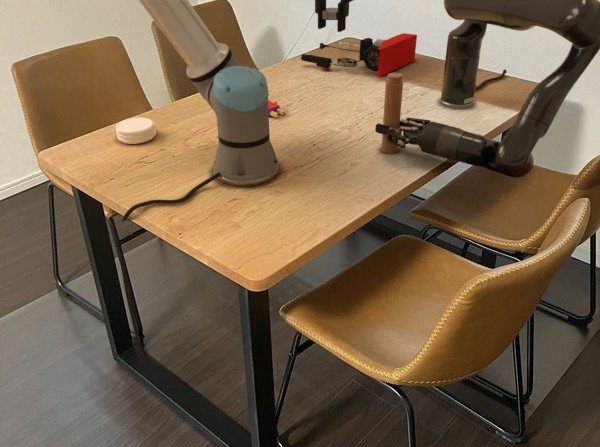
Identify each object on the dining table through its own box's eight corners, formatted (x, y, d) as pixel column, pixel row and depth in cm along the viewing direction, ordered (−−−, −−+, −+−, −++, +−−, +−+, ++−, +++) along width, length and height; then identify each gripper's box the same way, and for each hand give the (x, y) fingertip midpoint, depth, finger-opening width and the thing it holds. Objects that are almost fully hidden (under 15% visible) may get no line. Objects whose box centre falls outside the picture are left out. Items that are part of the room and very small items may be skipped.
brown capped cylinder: (378, 149, 155) (382, 75, 144) (388, 144, 157) (393, 70, 147) (390, 154, 152) (396, 79, 142) (401, 149, 154) (407, 75, 144)
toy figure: (289, 106, 174) (261, 93, 181) (270, 113, 170) (242, 99, 177) (289, 115, 175) (261, 101, 182) (270, 121, 171) (243, 107, 178)
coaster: (128, 148, 157) (126, 135, 155) (110, 136, 163) (108, 123, 162) (163, 136, 162) (161, 124, 161) (144, 125, 169) (142, 113, 167)
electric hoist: (300, 34, 205) (379, 49, 190) (342, 21, 224) (417, 33, 209) (299, 65, 210) (376, 81, 195) (341, 49, 229) (414, 63, 214)
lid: (345, 18, 148) (345, 10, 147) (330, 21, 146) (330, 13, 145) (333, 14, 152) (333, 6, 151) (318, 17, 149) (318, 9, 148)
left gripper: (290, -78, 139) (292, 27, 152) (360, -73, 131) (356, 37, 144) (307, -81, 144) (308, 20, 157) (376, -77, 136) (371, 30, 149)
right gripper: (460, 116, 147) (396, 101, 155) (432, 137, 137) (366, 119, 146) (456, 145, 151) (394, 128, 159) (429, 167, 141) (365, 148, 150)
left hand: (331, 28), depth 150 cm, fingers closed on lid, 5 cm apart
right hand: (381, 124), depth 153 cm, fingers closed on brown capped cylinder, 4 cm apart
